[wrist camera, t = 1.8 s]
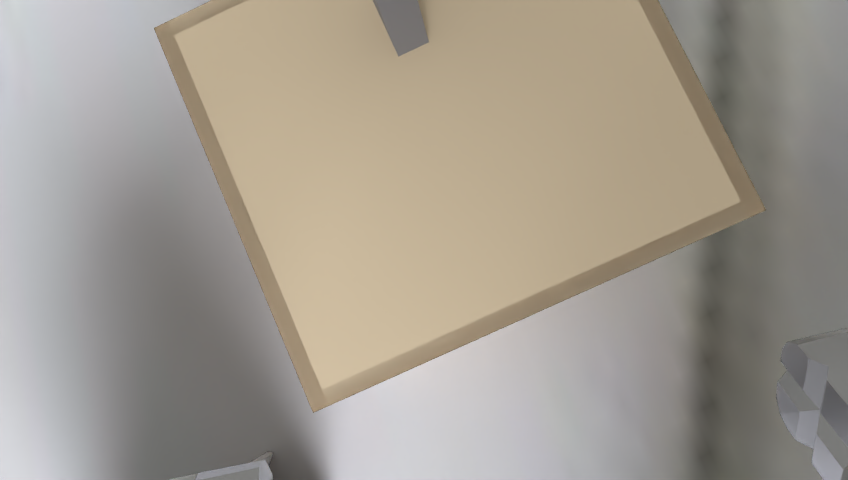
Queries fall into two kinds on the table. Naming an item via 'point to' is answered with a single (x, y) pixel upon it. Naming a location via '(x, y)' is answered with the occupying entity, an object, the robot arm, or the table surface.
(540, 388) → the table surface
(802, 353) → the robot arm
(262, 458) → the brochure
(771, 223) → the table surface
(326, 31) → the lid
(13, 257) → the table surface
